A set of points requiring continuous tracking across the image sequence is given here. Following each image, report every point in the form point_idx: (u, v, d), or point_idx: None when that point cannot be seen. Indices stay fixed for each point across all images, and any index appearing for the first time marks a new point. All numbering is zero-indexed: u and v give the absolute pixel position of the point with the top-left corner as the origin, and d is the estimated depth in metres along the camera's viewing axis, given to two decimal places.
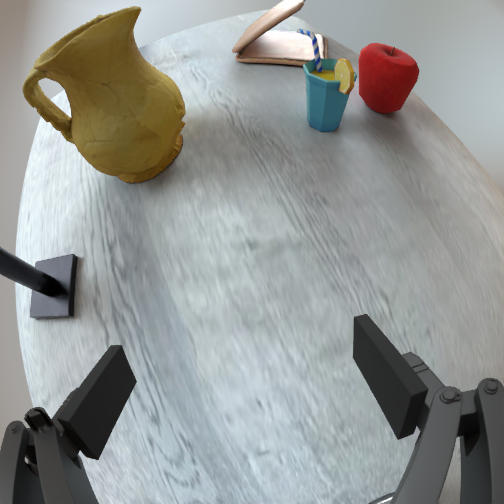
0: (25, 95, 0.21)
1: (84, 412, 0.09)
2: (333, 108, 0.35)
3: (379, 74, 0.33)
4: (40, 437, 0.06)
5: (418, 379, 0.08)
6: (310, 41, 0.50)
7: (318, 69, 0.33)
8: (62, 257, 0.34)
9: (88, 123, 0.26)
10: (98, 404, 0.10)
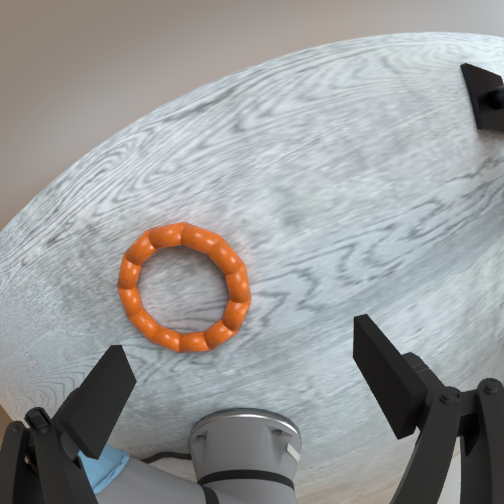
0: None
1: (84, 412, 0.09)
2: None
3: None
4: (40, 437, 0.06)
5: (418, 379, 0.08)
6: None
7: None
8: None
9: None
10: (98, 404, 0.10)
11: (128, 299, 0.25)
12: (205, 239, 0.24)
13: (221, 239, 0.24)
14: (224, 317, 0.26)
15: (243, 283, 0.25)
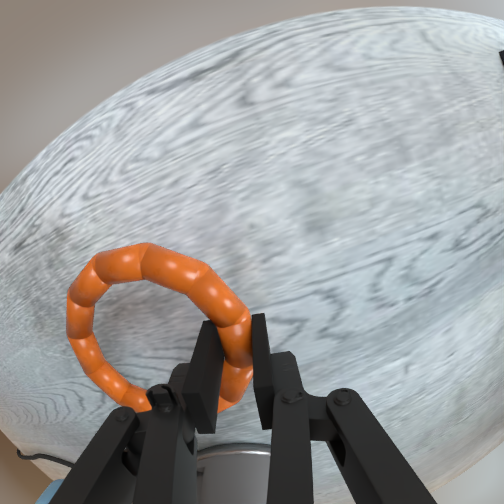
0: None
1: (205, 383, 0.11)
2: None
3: None
4: (158, 416, 0.08)
5: (269, 375, 0.10)
6: None
7: None
8: None
9: None
10: (211, 375, 0.12)
11: (81, 352, 0.15)
12: (180, 272, 0.14)
13: (208, 271, 0.14)
14: None
15: (246, 340, 0.15)
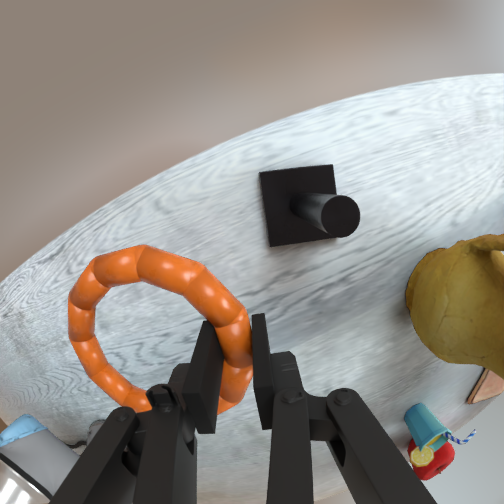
0: None
1: (205, 383, 0.11)
2: (412, 432, 0.38)
3: None
4: (158, 416, 0.08)
5: (269, 375, 0.10)
6: (497, 387, 0.42)
7: (442, 433, 0.34)
8: None
9: (463, 315, 0.23)
10: (211, 375, 0.12)
11: (83, 355, 0.15)
12: (175, 273, 0.14)
13: (203, 271, 0.14)
14: None
15: (243, 340, 0.15)
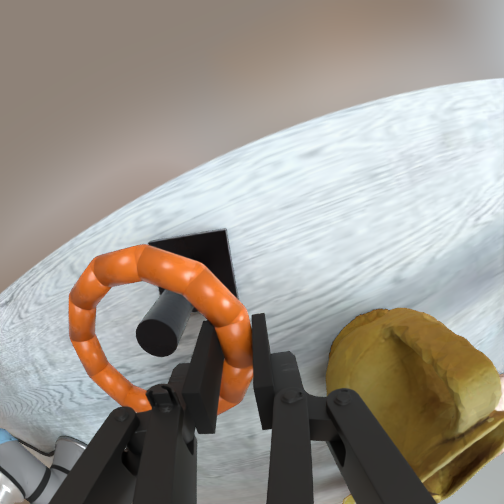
0: (450, 388, 0.12)
1: (205, 383, 0.11)
2: None
3: None
4: (158, 416, 0.08)
5: (269, 375, 0.10)
6: None
7: None
8: (233, 288, 0.31)
9: None
10: (211, 375, 0.12)
11: (84, 354, 0.15)
12: (176, 272, 0.14)
13: (203, 271, 0.14)
14: None
15: (244, 340, 0.15)
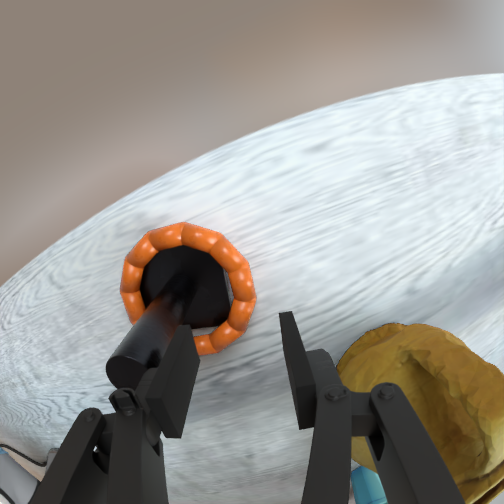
0: (481, 430, 0.08)
1: (171, 388, 0.11)
2: (355, 494, 0.32)
3: None
4: (122, 419, 0.08)
5: (310, 373, 0.10)
6: None
7: None
8: (227, 304, 0.27)
9: None
10: (179, 381, 0.12)
11: (131, 303, 0.24)
12: (206, 237, 0.23)
13: (222, 236, 0.24)
14: (229, 317, 0.25)
15: (247, 281, 0.24)
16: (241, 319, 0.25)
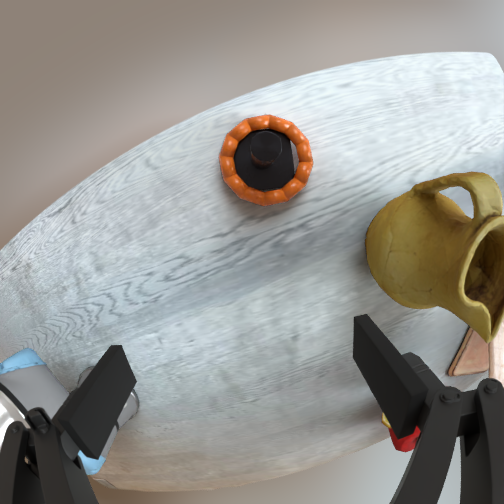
0: (463, 182, 0.20)
1: (84, 412, 0.09)
2: None
3: None
4: (40, 437, 0.06)
5: (418, 379, 0.08)
6: (481, 362, 0.48)
7: None
8: (292, 171, 0.39)
9: (407, 249, 0.29)
10: (98, 404, 0.10)
11: (228, 164, 0.37)
12: (284, 122, 0.35)
13: None
14: (296, 174, 0.37)
15: (308, 149, 0.36)
16: (304, 174, 0.37)
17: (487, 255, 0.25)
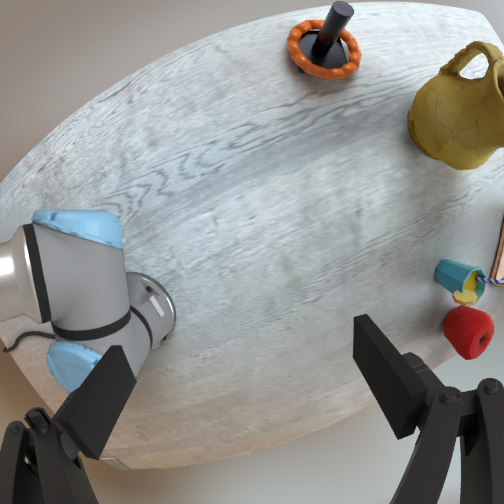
0: (475, 43, 0.19)
1: (84, 412, 0.09)
2: (448, 282, 0.43)
3: (468, 325, 0.41)
4: (40, 437, 0.06)
5: (418, 379, 0.08)
6: None
7: (477, 278, 0.38)
8: (345, 60, 0.37)
9: (449, 100, 0.28)
10: (98, 404, 0.10)
11: (296, 45, 0.35)
12: None
13: None
14: (350, 59, 0.36)
15: (357, 44, 0.35)
16: (356, 59, 0.36)
17: None
